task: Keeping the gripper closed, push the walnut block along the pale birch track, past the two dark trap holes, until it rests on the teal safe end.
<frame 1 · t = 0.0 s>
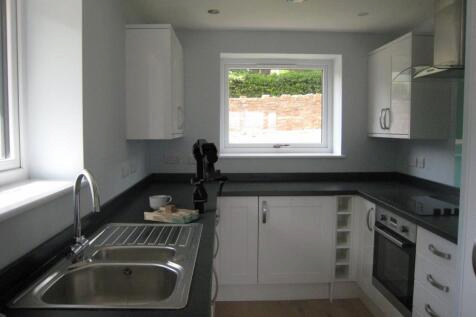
hand: (210, 197, 190), 15 cm above the worktop, tool pointing down, fingers open, 9 cm apart
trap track: (171, 218, 210), on the worktop
walnut block: (170, 212, 213), point 2 cm above the worktop, touching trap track
teacup: (160, 208, 236), on the worktop
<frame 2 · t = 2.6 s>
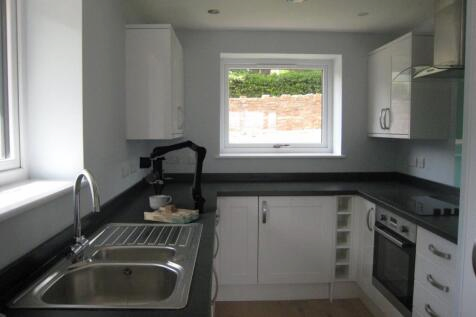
hand: (158, 195, 216), 12 cm above the worktop, tool pointing down, fingers closed
nothing on the worktop moved.
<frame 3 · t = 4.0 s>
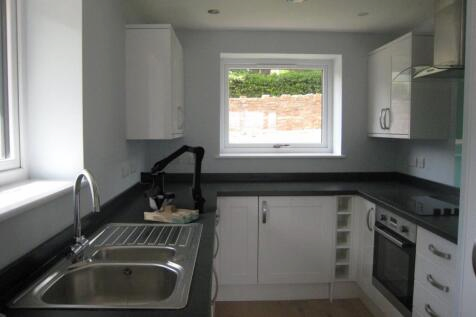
hand: (159, 209, 216), 3 cm above the worktop, tool pointing down, fingers closed
nothing on the worktop moved.
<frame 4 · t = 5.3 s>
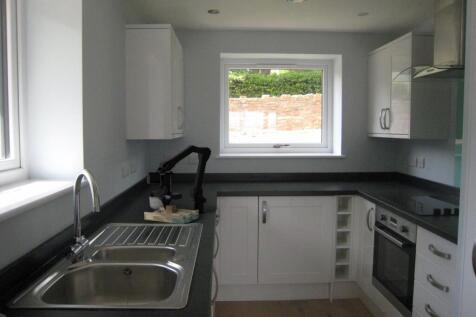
hand: (165, 210, 214), 4 cm above the worktop, tool pointing down, fingers closed
walnut block: (170, 212, 213), point 3 cm above the worktop, touching gripper, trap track
everything else where it was.
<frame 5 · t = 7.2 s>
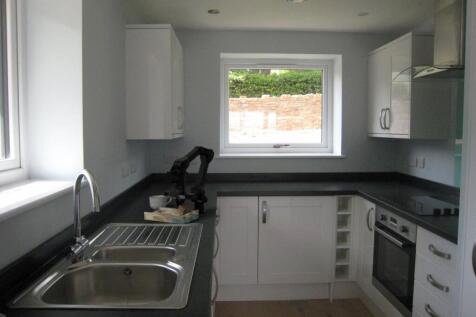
hand: (179, 210, 210), 5 cm above the worktop, tool pointing down, fingers closed, pressing on walnut block
walnut block: (181, 212, 209), point 3 cm above the worktop, tilted 30°, touching gripper, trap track
everything else where it was.
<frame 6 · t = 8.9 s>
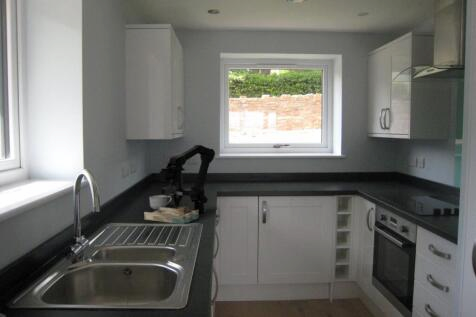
hand: (177, 206, 211), 6 cm above the worktop, tool pointing down, fingers closed
walnut block: (183, 214, 209), point 2 cm above the worktop, touching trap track
everything else where it was.
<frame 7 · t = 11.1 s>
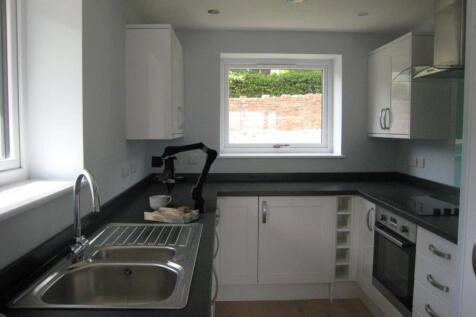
hand: (169, 193, 220), 12 cm above the worktop, tool pointing down, fingers closed
nothing on the worktop moved.
at the end: walnut block inside the target area (2.9 cm from its centre), point 2.5 cm above the worktop; walnut block tilted 0° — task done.
